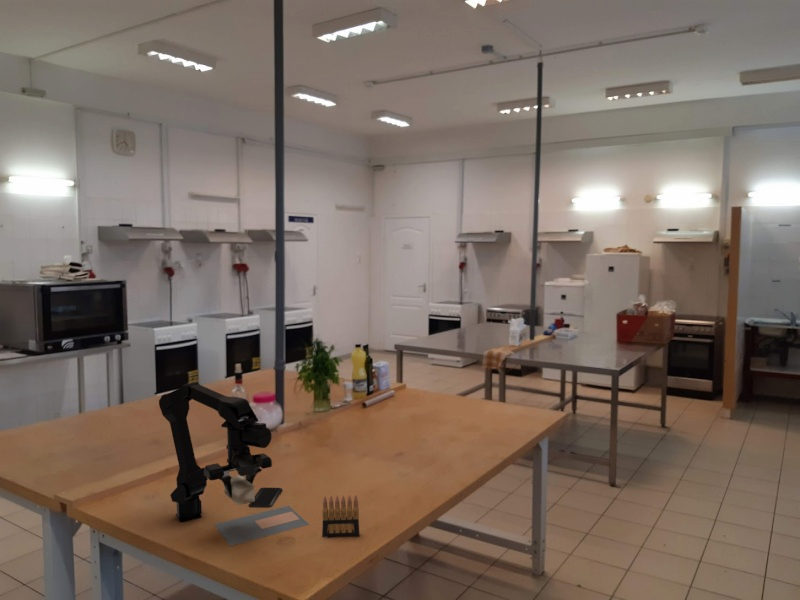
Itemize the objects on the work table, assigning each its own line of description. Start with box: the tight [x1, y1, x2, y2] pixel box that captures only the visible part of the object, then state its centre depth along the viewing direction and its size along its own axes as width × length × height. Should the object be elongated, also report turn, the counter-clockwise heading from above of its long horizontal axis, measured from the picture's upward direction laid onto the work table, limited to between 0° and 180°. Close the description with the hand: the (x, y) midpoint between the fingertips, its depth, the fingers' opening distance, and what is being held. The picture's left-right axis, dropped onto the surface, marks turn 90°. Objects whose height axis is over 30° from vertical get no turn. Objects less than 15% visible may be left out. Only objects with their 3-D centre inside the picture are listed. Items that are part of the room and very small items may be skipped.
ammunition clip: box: [321, 494, 360, 539], centre depth 175 cm, size 11×2×12 cm, turn 93°
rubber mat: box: [213, 505, 310, 547], centre depth 182 cm, size 24×16×1 cm, turn 123°
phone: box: [248, 487, 283, 509], centre depth 202 cm, size 8×1×15 cm
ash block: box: [223, 474, 256, 507], centre depth 178 cm, size 5×11×4 cm, turn 36°
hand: (239, 494), depth 178 cm, fingers closed on ash block, 5 cm apart
